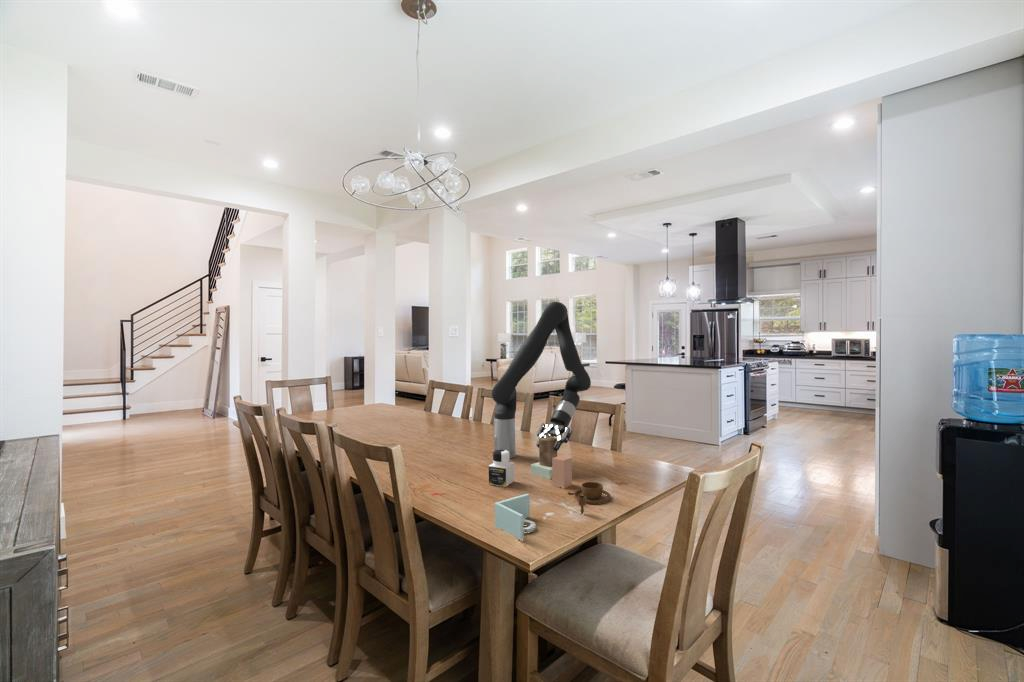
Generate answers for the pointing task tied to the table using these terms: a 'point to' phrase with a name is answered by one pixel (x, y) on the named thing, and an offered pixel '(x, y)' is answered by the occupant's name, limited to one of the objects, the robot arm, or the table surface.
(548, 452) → the walnut pillar
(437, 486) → the table surface
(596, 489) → the place setting
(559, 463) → the terracotta pillar
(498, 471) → the medicine bottle
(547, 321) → the robot arm
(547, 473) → the sage base block
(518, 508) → the l-shaped corner panel
